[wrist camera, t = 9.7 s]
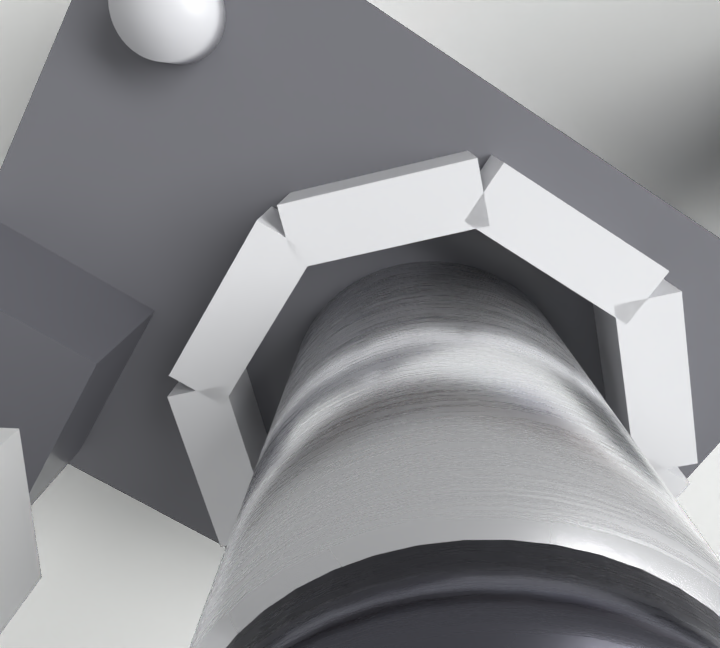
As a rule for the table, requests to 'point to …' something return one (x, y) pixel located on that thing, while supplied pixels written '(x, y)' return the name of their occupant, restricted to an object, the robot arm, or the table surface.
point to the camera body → (302, 238)
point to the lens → (454, 491)
